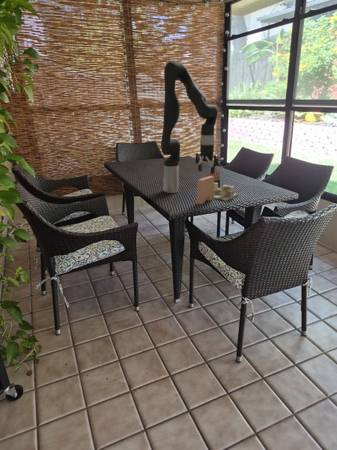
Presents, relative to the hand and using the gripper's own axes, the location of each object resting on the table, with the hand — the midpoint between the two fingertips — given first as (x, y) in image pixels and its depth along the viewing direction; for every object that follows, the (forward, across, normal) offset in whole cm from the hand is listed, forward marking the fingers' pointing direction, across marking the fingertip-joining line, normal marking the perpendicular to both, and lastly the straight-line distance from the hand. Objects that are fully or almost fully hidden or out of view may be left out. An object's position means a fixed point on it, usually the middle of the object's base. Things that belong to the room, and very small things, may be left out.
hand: (206, 172), depth 177 cm
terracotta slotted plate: (+17, 0, 0) cm, 17 cm away
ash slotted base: (+17, 0, +15) cm, 23 cm away
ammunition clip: (+17, -13, +26) cm, 34 cm away
